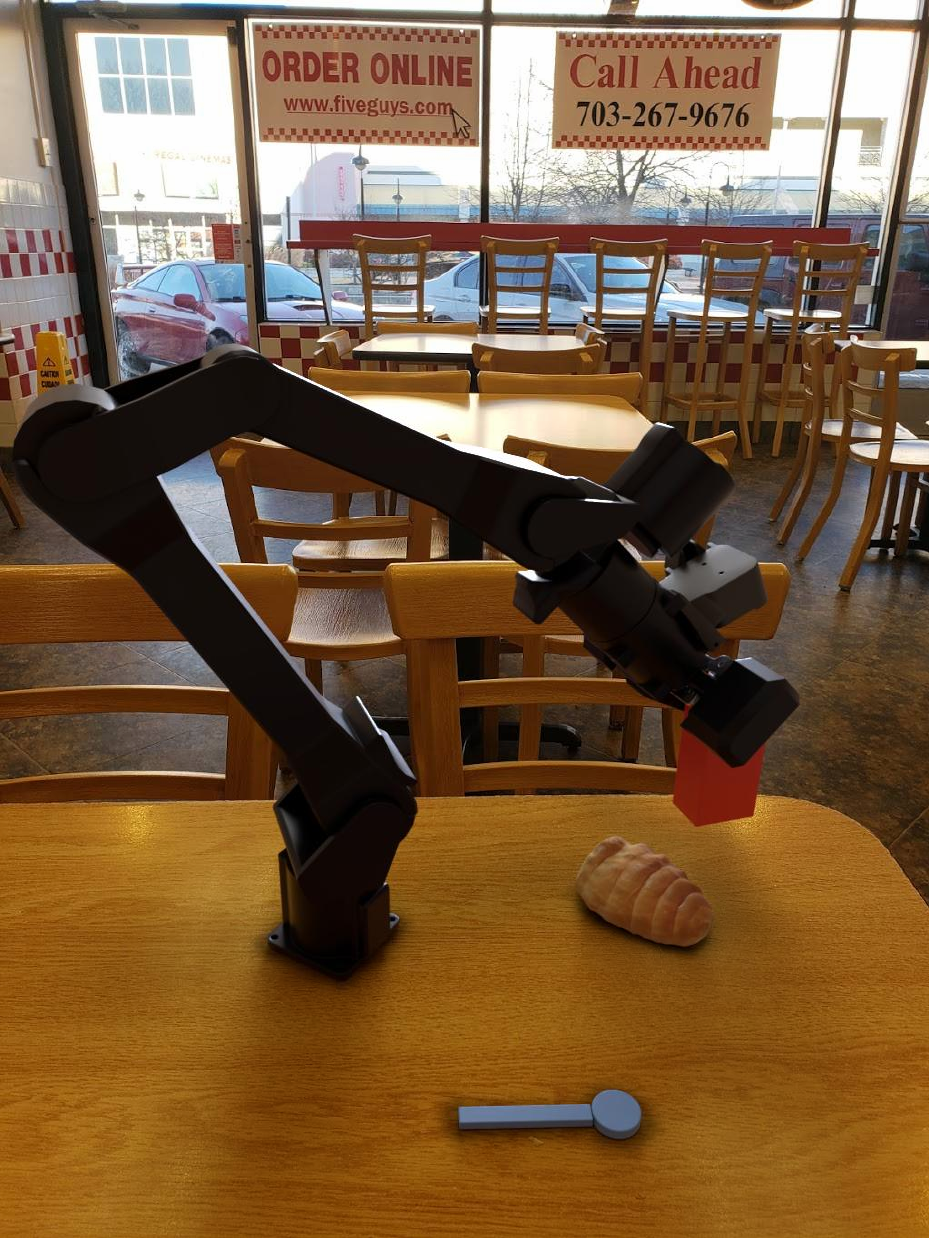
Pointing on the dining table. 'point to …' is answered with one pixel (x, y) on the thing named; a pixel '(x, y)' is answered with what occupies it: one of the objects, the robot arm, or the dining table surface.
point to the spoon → (561, 1115)
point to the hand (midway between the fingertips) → (739, 730)
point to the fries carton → (714, 783)
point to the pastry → (643, 893)
